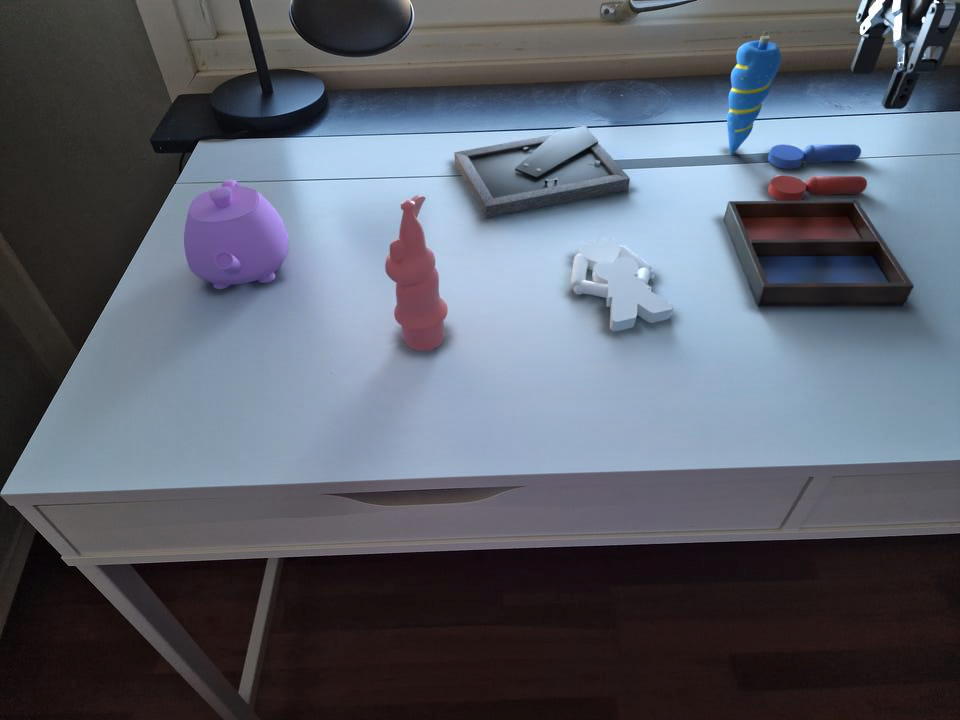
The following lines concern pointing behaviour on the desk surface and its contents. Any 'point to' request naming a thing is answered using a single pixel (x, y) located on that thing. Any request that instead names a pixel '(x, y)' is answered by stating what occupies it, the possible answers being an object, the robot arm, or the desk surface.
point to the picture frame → (539, 172)
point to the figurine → (416, 283)
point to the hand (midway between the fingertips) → (875, 89)
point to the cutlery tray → (814, 254)
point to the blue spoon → (811, 154)
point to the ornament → (750, 87)
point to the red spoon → (814, 186)
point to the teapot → (234, 236)
